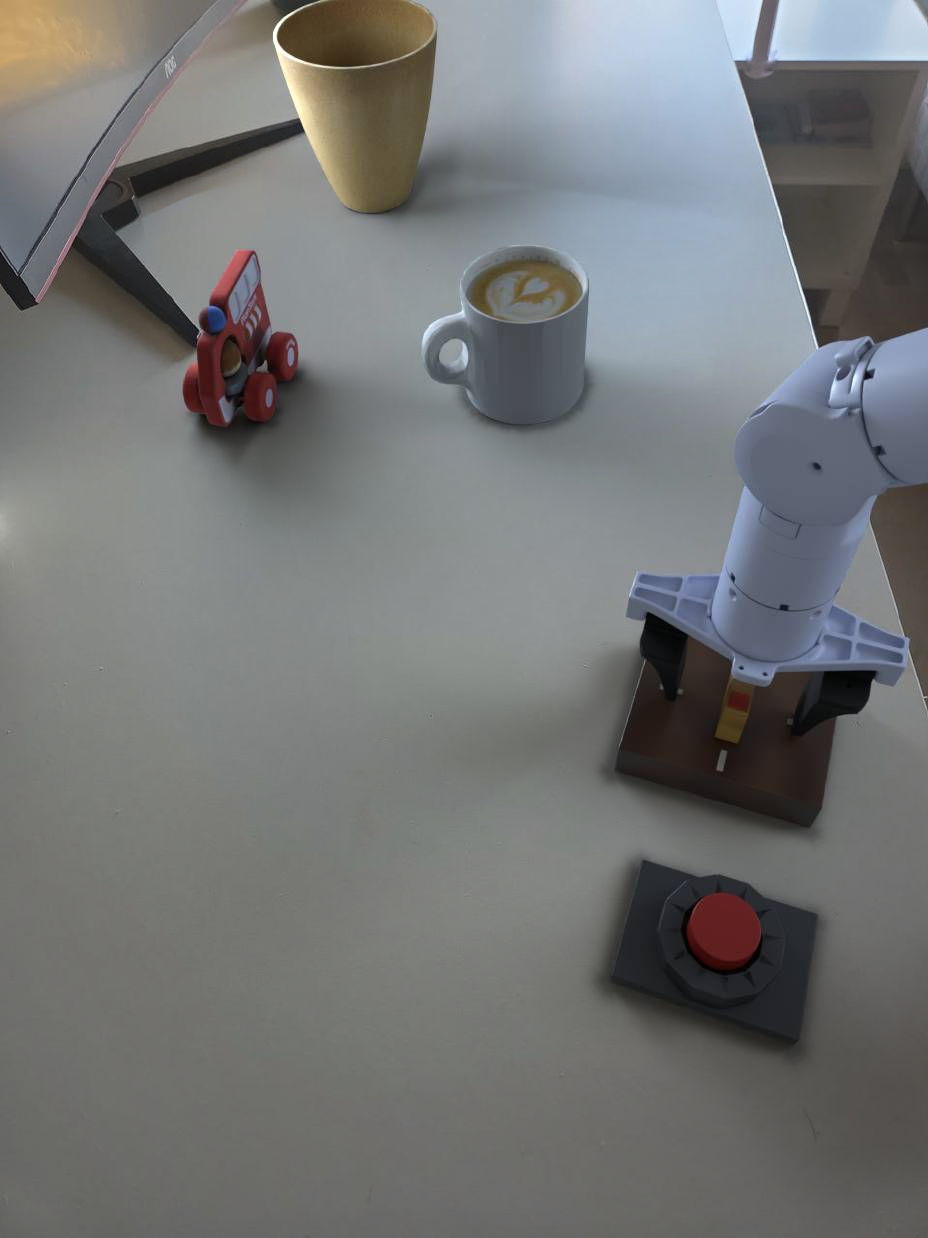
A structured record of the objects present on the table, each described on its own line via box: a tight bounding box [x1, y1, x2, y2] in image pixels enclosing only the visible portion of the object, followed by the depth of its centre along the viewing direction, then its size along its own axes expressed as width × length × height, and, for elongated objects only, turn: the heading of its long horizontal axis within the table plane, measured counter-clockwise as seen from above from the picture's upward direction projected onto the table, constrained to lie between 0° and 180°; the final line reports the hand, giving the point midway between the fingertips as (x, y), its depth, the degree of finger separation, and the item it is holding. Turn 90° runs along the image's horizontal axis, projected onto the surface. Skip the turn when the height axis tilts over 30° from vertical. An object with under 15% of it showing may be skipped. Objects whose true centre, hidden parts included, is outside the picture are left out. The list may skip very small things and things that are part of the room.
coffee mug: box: [420, 244, 590, 426], centre depth 77 cm, size 13×10×10 cm
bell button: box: [687, 893, 761, 971], centre depth 51 cm, size 4×4×2 cm
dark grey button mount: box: [609, 858, 819, 1046], centre depth 52 cm, size 10×7×3 cm
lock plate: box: [614, 635, 838, 829], centre depth 60 cm, size 12×10×3 cm
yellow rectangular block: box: [715, 674, 756, 743], centre depth 58 cm, size 5×1×4 cm, turn 160°
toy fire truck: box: [182, 248, 299, 428], centre depth 79 cm, size 7×12×10 cm, turn 166°
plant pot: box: [272, 0, 439, 214], centre depth 93 cm, size 15×15×16 cm
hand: (735, 704), depth 59 cm, fingers open, 7 cm apart
